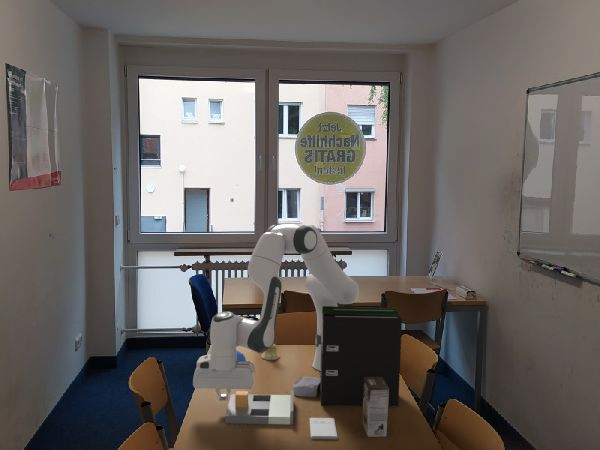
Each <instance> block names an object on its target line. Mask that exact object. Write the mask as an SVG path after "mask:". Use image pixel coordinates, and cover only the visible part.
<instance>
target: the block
mask: <svg viewBox="0 0 600 450" xmlns="http://www.w3.org/2000/svg"><path fill="white" fill-rule="evenodd" d="M235 394H236V395H235V407H246V408H247V406H248V394H249V391H248V390H236V392H235Z"/></svg>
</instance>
